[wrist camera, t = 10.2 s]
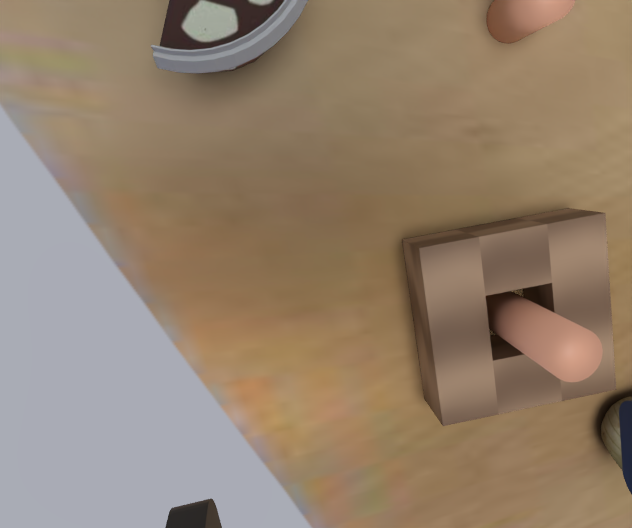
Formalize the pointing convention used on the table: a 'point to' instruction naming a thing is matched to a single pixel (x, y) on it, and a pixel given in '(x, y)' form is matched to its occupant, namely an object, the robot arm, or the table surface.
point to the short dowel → (523, 17)
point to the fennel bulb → (613, 431)
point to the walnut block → (497, 277)
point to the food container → (222, 33)
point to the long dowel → (544, 336)
